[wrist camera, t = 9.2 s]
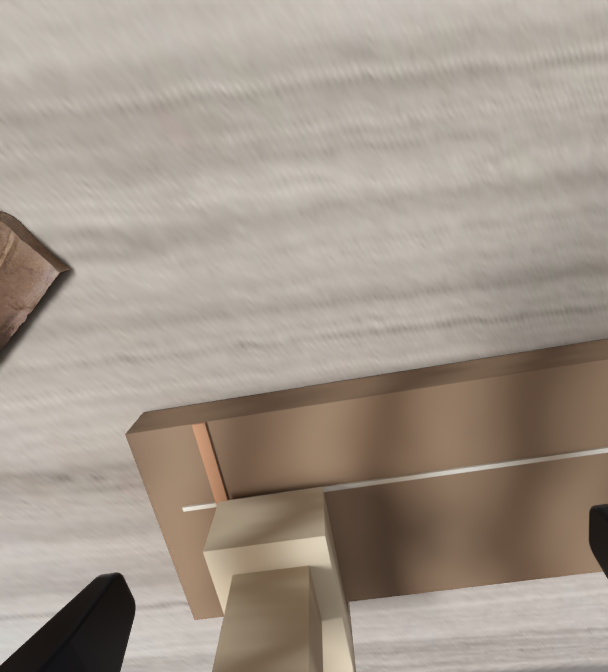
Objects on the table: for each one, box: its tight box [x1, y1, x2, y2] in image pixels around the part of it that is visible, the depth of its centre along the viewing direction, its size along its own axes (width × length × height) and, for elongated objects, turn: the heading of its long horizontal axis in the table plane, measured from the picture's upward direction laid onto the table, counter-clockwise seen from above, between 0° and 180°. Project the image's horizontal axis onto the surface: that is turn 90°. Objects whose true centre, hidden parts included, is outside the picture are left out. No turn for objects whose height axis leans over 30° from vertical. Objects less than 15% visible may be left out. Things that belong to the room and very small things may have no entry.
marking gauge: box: [203, 487, 356, 672], centre depth 16 cm, size 5×10×11 cm, turn 10°
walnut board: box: [125, 339, 608, 620], centre depth 20 cm, size 24×12×2 cm, turn 100°
